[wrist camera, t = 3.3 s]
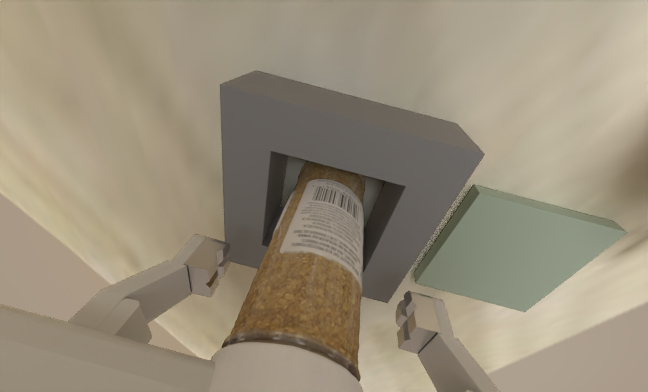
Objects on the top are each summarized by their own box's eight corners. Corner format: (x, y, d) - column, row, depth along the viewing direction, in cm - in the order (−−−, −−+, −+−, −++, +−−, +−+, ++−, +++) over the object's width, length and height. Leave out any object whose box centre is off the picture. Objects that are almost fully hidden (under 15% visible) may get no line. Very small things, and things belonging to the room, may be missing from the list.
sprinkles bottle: (286, 180, 17) (145, 445, 6) (331, 136, 15) (231, 430, 4) (333, 219, 19) (283, 493, 8) (381, 184, 16) (405, 503, 5)
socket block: (255, 70, 14) (220, 84, 10) (457, 123, 14) (484, 154, 10) (248, 222, 20) (225, 260, 17) (384, 258, 20) (387, 303, 17)
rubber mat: (473, 184, 15) (479, 193, 15) (614, 221, 15) (628, 232, 15) (413, 273, 21) (415, 283, 20) (518, 300, 21) (524, 312, 20)
